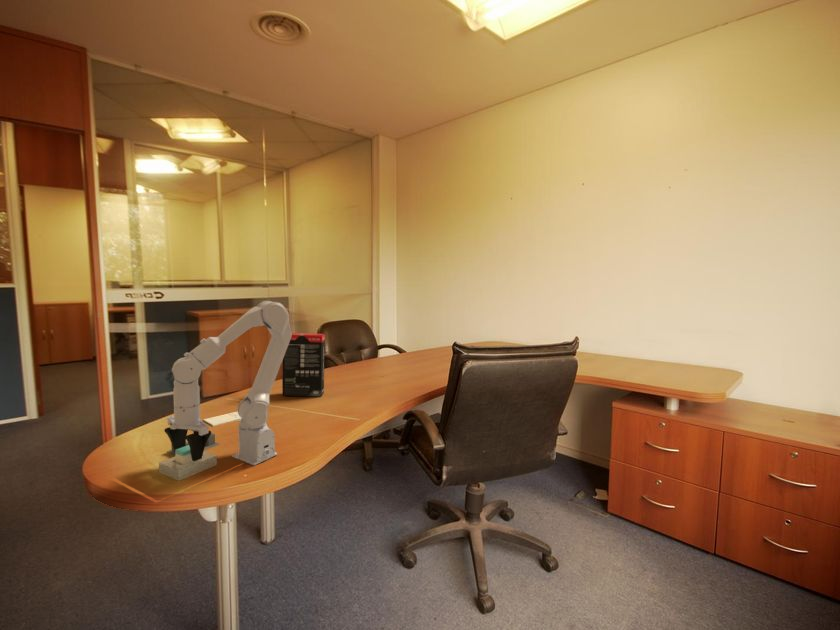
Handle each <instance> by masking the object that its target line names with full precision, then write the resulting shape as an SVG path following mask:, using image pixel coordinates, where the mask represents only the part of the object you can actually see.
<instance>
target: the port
mask: <svg viewBox="0 0 840 630" xmlns="http://www.w3.org/2000/svg"><path fill="white" fill-rule="evenodd" d="M217 465H218V456H217V454H214V453H212V452H209V451H206V450H204V452H203V456H202V459H199V460H197V461H192V462H190V463H187V464H185V465H180V464H177V463H176V459H175V456H172V457H170V458H166V459H164V460H161V461H159V462H158V472H159V473H160V474H163V475H165V476H167V477H169V478H171V479H174V480H176V481H178V482H180V481H181V480H184V479H187V478H189V477H191V476H193V475H197V474H199V473H201V472H203V471H205V470H209V469H210V468H213V467H214V466H217Z"/></svg>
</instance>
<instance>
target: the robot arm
mask: <svg viewBox="0 0 840 630" xmlns="http://www.w3.org/2000/svg"><path fill="white" fill-rule="evenodd" d="M290 323H291V322H290V313H289V312H288V310H287V309H286V307H285V306H284V305H283V304H282V303H281V302H278V301H271V300H263V301H261V302H260V303H257V306H253V307H251V308H250V309H249V310H248V311H246V312H245V313H244V314H243V315H242V316H240V317H239V318H238V319H237V320H236V321H234V322H233V323H232V324H231V325H229V327H228V328H226V329H225V330H224V331H223V332H221V333H220V334H219V335H218V336H209V337H208V338H204V337H203V338H202V339H201V340H200V341H199V342H200V343H199V344H198V345H197V346H196V347H194V348H193V349H192V350H190V352H187V351H186V352H185V353H184V354H183V356H184V357H180V358H179V359H177V360H176V361H175V362H174V363H173V365H172V368H171V372H172V375H173V377H174V380H173V389H172V391H173V392H172V393H173V394H172V395H173V415H172V416H168V417H167V425H169V426H168V427H166V428H164V429H163V430H164V433H165V434H166V435H167V437H168V439H169V440H170V441H169V442H170V443H172V446H173V449H174V452H175V450H176V449H179V448H182V447H185V446H186V442H188V443H189V446H190V451H191V458H192V461H197V460H199V459H202V456H203V452H204V451H205V450H204V448H205V445H206V442H207V440H208V438H209V437H210V435H211V433H212V431H211V430H209V425H207V424H206V423H205V422H204V421H203V419H201V397H200V392H201V391H200V385H199V378H200V376H201V374H202V371H204V370H206V369H207V368H209V367H210V366H211V365H212V364H213V363H215V362H216V361H217V360H219V358H221V357H222V356H223V355H224V354H226V350H227V346H228V345H229V344H231V343H233V342H234V340H236V339H237V338H239V337H240V336H242V335H243V334H244V333H246V332H247V331H248V330H250V329H251V328H254V327H255V328H257V327H262V326H265V327H266V329H267V330H268V332H269V333H270V335H271V337H270V340H269V342H268V345H267V347H266V351H265V353H264V356H263V358H262V359H261V360H262V361H261V364H260V366H259V368H258V371H257V373H256V376H255V379H254V381H253V383H252V386H251V388H250V389H249V390H248V392H247V393H246V395H245V397H244V398H243V399H242V400H241V401H240V402H239V404H238V405H237V406H238V407H237V411H238V414H239V416H240V417H241V418H242V419H241V421H239V424H238V452H236V453H235V454H232V455H231V457H232V458H233V459H234V458H235V459H237V460H240V461H243V462H244V463H246V464H249V465H252V466H256V465H258V464H260V463H262V462H264V461H267V460H269V459H272V458H274V457H275V456H277V455H278V452H276V444H275V443H276V438H275V437H276V436H275V432H274V430H272V429H271V428H269V426H268V424H267V421H268V417H269V414H268V413H269V412H268V409H269V406H270V393H271V392H272V390H273V389H272V388H273V385H274V384H275V382H276V378H277V377H278V373H279V371H280V367H281V365H282V364H283V358H284V355H285V352H286V350H287V347H288V345H289V342H290V339H291V336H292V333H293V332H292V329H291V324H290ZM237 411H236V412H237ZM189 431H191V432H193V433H190V434H188V432H189ZM172 446H171V447H172Z"/></svg>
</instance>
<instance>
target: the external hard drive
mask: <svg viewBox="0 0 840 630" xmlns="http://www.w3.org/2000/svg"><path fill="white" fill-rule="evenodd" d="M241 419H242V418H241V417H240V416H239V414H238V411H234V412H230V413H225V414H221V415H217V416H212V417H207V418H204V419H202V421H203V422H204V423H205V424H208V426H212V427H216V426H220V425H224V424H228V423H232V422H236V421H237V422H240V420H241Z"/></svg>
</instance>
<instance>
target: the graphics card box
mask: <svg viewBox="0 0 840 630" xmlns="http://www.w3.org/2000/svg"><path fill="white" fill-rule="evenodd" d="M291 333H292V336H291V339H290V342H289V345H288V347H287V350H286V352H285V355H284V358H283V360H282V380H281V381H282V384H281V385H282V396H284V397H286V396H287V397H314V398H315V397H318V398H319V397H322V396H323V395H324V393H325V346H326V345H325V338H326V337H325V336H326V335H325V334H324V333H301V332H298V333H297V332H291Z"/></svg>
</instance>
